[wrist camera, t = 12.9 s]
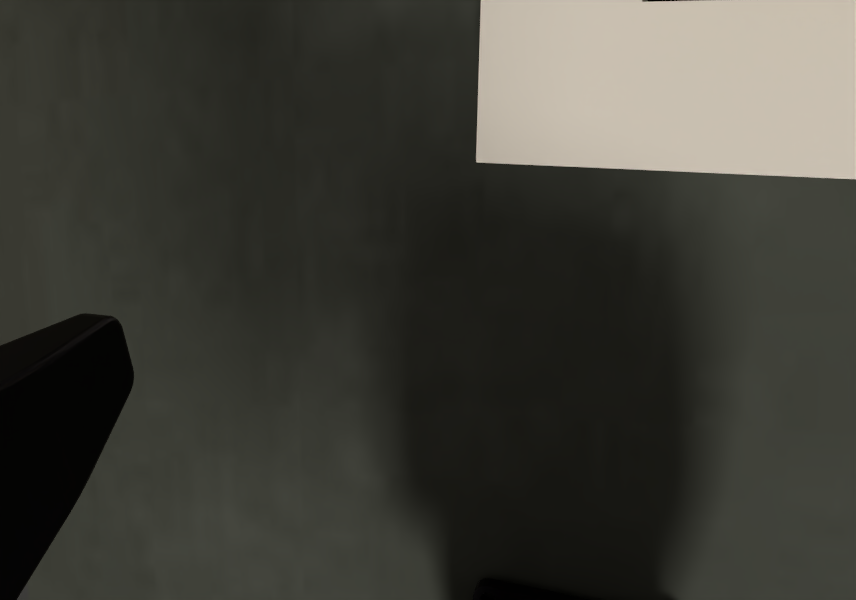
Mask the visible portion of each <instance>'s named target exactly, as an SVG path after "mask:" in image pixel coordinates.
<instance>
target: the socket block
mask: <svg viewBox="0 0 856 600" xmlns="http://www.w3.org/2000/svg"><path fill="white" fill-rule="evenodd" d="M476 162H477V163H499V164H522V165H545V166H567V167H590V168H613V169H635V170H658V171H681V172H703V173H726V174H749V175H771V176H794V177H817V178H839V179H856V0H701V1H653V2H647V0H481V13H480V46H479V79H478V113H477V146H476Z"/></svg>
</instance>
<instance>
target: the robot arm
mask: <svg viewBox="0 0 856 600" xmlns="http://www.w3.org/2000/svg"><path fill="white" fill-rule="evenodd" d="M133 380H134V371H133V366H132V362H131V358H130V355H129V351H128V347H127V343H126V339H125V336H124V332H123V328H122V326H121V324H120V322H119V321H118V320H117V319H116V318H114V317H112V316H106V315H97V314H86V313H85V314H79V315H76V316H74V317H71V318H69V319H66V320H64V321H61V322H59V323H56V324H54V325H51V326H49V327H46V328H44V329H41V330H39V331H36V332H34V333H31V334H29V335H26V336H24V337H21V338H18V339H16V340H13V341H11V342H8V343H6V344H3V345H1V346H0V600H17V598H18V597H19V595H20V593H21V592H22V590H23V589H24V587H25V585H26V584H27V582H28V580H29V579H30V577H31V576H32V574H33V572H34V571H35V569H36V567H37V566H38V564H39V563H40V561H41V559H42V558H43V556H44V554H45V553H46V551H47V550H48V548H49V546H50V545H51V543H52V541H53V540H54V538H55V537H56V535H57V533H58V532H59V530H60V528H61V527H62V525H63V524H64V522H65V520H66V519H67V517H68V515H69V514H70V512H71V510H72V509H73V507H74V505H75V503H76V502H77V500H78V498H79V497H80V495H81V493H82V491H83V489H84V487H85V485H86V483H87V481H88V479H89V477H90V475H91V473H92V471H93V469H94V467H95V465H96V463H97V461H98V459H99V457H100V455H101V452H102V450H103V448H104V446H105V444H106V442H107V440H108V438H109V436H110V434H111V432H112V429H113V427H114V425H115V423H116V421H117V419H118V417H119V415H120V413H121V411H122V409H123V407H124V404H125V402H126V400H127V398H128V396H129V394H130V392H131V389H132V386H133ZM484 593H490V594H492V595H493V596H494V597H495V598H489V597H487V596H486V595H485V594H484ZM473 600H588V599H584V598H579V597H574V596H570V595H565V594H560V593H556V592H551V591H546V590H542V589H537V588H532V587H528V586H523V585H518V584H514V583H509V582H504V581H500V580H495V579H483V580H481V581H480V582H479V583H478V584H477V586H476V589H475V591H474V595H473Z"/></svg>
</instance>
